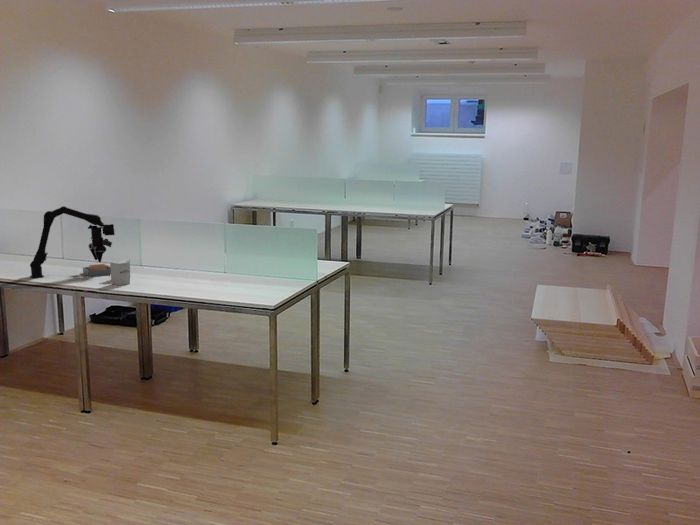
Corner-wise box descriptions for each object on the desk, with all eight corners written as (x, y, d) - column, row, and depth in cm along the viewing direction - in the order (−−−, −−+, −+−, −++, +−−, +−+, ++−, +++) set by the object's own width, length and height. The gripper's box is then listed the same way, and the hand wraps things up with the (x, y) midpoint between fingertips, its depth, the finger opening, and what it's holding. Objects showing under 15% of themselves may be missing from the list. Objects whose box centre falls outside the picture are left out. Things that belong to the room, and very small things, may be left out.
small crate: (89, 272, 384) (89, 265, 383) (104, 271, 389) (104, 263, 388) (91, 273, 379) (91, 266, 378) (107, 272, 384) (106, 265, 383)
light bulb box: (121, 281, 363) (120, 262, 361) (110, 280, 364) (109, 262, 362) (131, 277, 373) (130, 259, 371) (120, 277, 374) (119, 259, 373)
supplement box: (119, 285, 349) (118, 263, 347) (111, 284, 353) (109, 262, 351) (130, 283, 355) (129, 261, 353) (121, 282, 359) (120, 260, 357)
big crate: (83, 273, 386) (82, 267, 385) (107, 270, 394) (107, 265, 394) (88, 276, 374) (88, 271, 373) (113, 274, 382) (113, 268, 382)
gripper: (114, 236, 377) (115, 262, 380) (106, 233, 392) (107, 258, 395) (94, 237, 371) (96, 263, 374) (87, 234, 386) (89, 259, 389)
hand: (98, 261), depth 383 cm, fingers open, 9 cm apart
